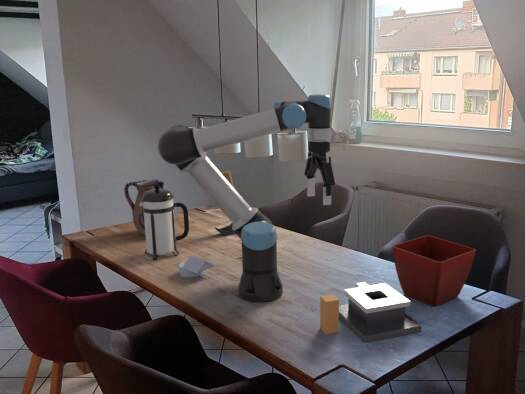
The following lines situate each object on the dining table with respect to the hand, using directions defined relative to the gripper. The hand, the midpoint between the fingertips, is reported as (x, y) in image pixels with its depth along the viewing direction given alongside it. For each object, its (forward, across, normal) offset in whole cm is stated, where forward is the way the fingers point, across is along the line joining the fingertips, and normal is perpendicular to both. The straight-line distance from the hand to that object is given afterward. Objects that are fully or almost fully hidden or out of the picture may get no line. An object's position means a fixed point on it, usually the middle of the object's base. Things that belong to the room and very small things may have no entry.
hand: (318, 200), depth 186 cm
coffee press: (+29, +46, +49) cm, 73 cm away
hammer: (+29, +63, +13) cm, 71 cm away
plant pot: (+28, -30, -27) cm, 49 cm away
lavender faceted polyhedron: (+29, +19, +42) cm, 54 cm away
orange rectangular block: (+28, -39, +14) cm, 50 cm away
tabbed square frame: (+28, -39, -1) cm, 48 cm away
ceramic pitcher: (+29, +77, +52) cm, 97 cm away
